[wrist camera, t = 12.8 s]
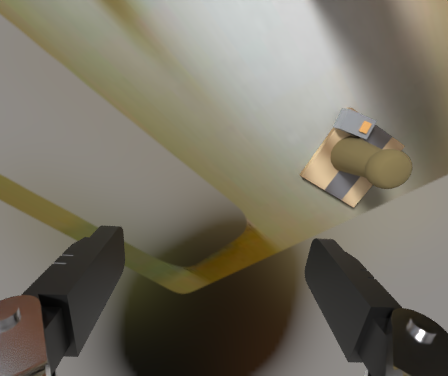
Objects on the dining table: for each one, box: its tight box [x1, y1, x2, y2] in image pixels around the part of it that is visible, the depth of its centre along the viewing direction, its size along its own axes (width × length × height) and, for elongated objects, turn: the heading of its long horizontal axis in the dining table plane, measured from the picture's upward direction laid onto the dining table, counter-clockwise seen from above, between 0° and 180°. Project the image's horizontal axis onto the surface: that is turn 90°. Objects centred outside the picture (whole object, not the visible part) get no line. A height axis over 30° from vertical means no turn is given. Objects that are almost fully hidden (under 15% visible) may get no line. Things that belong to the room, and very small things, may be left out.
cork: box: [330, 136, 412, 189], centre depth 33 cm, size 6×6×11 cm
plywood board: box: [300, 108, 405, 207], centre depth 40 cm, size 13×12×1 cm
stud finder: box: [333, 108, 377, 140], centre depth 36 cm, size 3×5×2 cm, turn 70°
